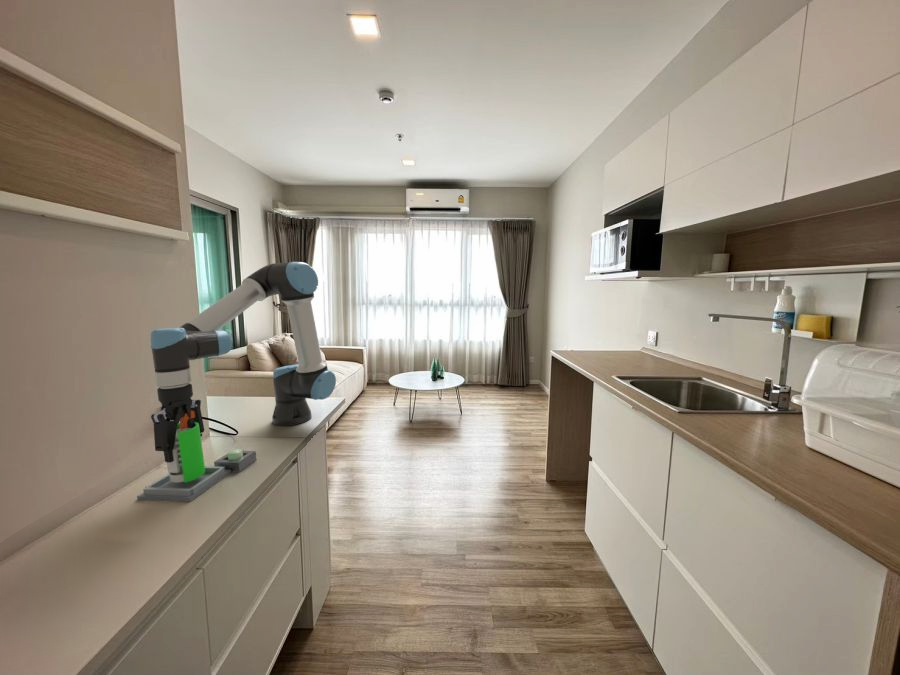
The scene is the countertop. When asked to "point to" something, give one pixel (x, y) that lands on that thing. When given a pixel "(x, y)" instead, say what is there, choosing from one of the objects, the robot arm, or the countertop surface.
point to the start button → (235, 454)
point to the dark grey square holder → (236, 461)
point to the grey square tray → (183, 486)
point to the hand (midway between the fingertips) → (184, 465)
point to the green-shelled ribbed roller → (188, 452)
